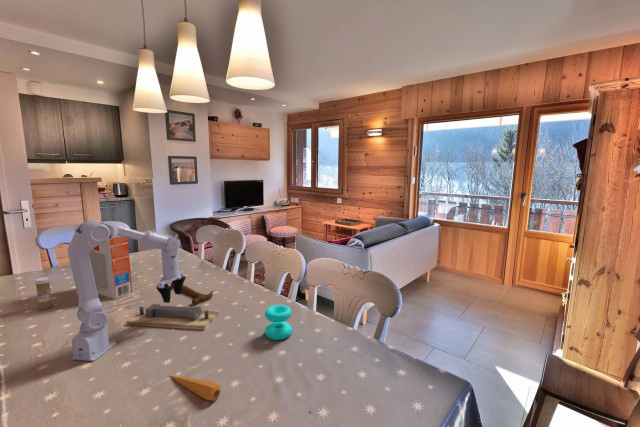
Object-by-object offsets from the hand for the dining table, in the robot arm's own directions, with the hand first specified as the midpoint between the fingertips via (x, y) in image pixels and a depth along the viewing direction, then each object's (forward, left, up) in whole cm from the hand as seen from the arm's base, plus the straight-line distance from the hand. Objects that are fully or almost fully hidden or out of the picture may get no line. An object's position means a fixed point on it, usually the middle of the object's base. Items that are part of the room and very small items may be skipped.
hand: (172, 298), depth 119 cm
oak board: (0, 0, -9) cm, 9 cm away
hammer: (+26, +7, -10) cm, 29 cm away
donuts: (-5, -45, -10) cm, 46 cm away
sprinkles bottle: (+4, +62, -10) cm, 63 cm away
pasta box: (+23, +48, -10) cm, 54 cm away
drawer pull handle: (0, 0, -8) cm, 8 cm away
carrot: (-35, -27, -10) cm, 45 cm away
